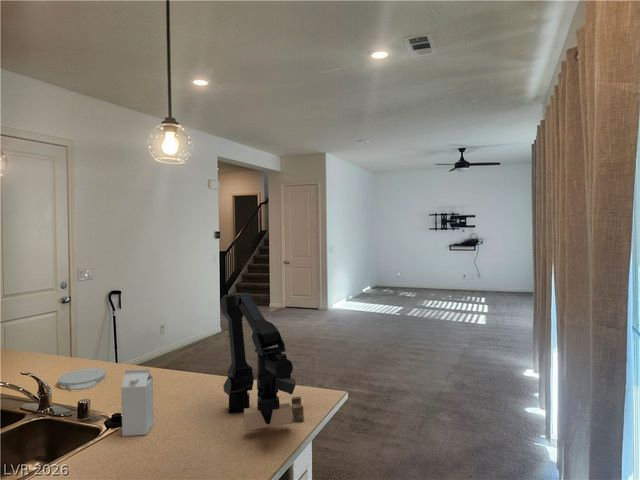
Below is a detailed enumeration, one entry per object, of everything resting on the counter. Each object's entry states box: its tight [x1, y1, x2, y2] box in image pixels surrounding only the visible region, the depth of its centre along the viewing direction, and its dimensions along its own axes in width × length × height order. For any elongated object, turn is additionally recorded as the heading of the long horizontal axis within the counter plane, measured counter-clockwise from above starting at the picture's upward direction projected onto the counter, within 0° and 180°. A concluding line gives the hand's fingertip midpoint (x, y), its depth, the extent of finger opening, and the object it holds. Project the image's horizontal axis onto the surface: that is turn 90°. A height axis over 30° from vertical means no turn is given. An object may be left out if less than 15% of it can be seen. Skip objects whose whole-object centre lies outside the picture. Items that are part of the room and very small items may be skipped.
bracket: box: [291, 396, 305, 424], centre depth 136 cm, size 14×9×5 cm, turn 99°
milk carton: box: [120, 368, 155, 437], centre depth 128 cm, size 7×7×19 cm
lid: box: [57, 367, 107, 391], centre depth 169 cm, size 17×20×3 cm
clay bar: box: [243, 402, 293, 431], centre depth 125 cm, size 14×4×5 cm, turn 106°
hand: (267, 420), depth 125 cm, fingers closed on clay bar, 4 cm apart
